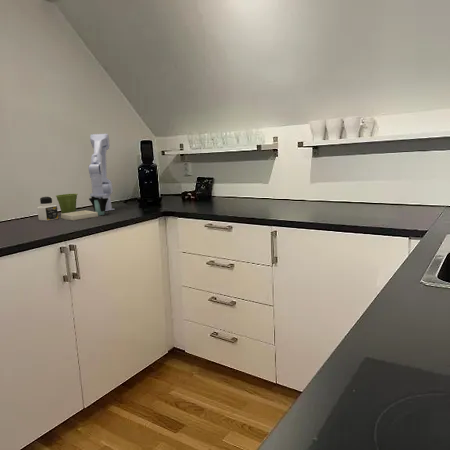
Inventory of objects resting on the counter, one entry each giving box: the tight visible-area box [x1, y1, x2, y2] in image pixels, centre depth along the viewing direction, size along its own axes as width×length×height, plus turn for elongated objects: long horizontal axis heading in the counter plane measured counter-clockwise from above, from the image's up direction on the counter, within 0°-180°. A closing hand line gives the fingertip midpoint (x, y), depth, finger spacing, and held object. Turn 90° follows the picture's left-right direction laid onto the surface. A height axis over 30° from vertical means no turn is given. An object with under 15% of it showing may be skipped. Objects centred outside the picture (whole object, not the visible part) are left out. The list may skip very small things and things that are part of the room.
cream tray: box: [60, 210, 99, 222], centre depth 236 cm, size 14×14×2 cm
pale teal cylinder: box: [94, 200, 106, 216], centre depth 244 cm, size 5×5×8 cm
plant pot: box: [55, 193, 78, 214], centre depth 249 cm, size 12×12×11 cm
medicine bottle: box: [36, 196, 59, 222], centre depth 235 cm, size 7×7×12 cm
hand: (99, 210), depth 244 cm, fingers open, 7 cm apart
